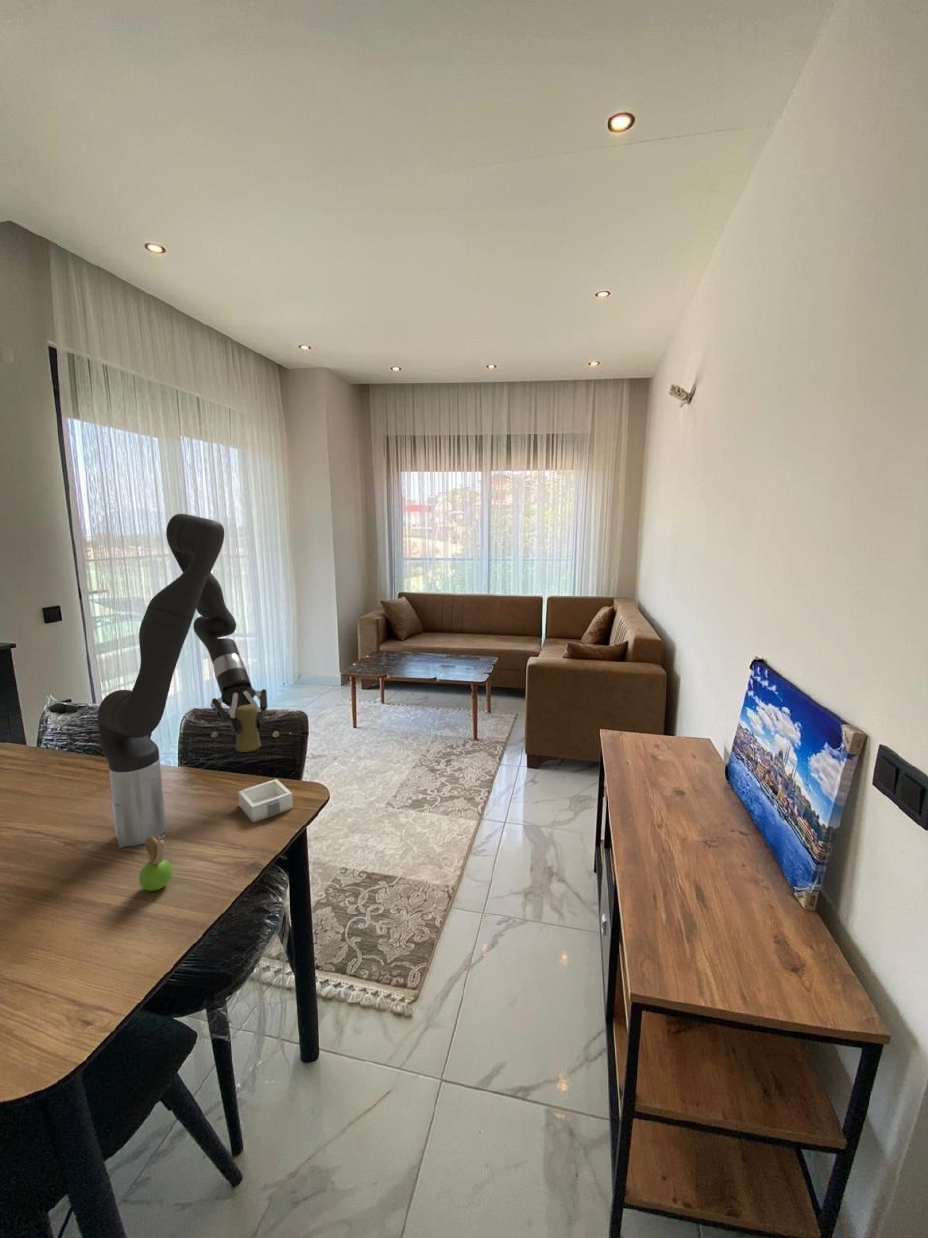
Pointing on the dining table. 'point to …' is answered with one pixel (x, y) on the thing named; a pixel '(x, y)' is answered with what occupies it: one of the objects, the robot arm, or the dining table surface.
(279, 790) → the box
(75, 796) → the dining table surface
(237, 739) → the cork
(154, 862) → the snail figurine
